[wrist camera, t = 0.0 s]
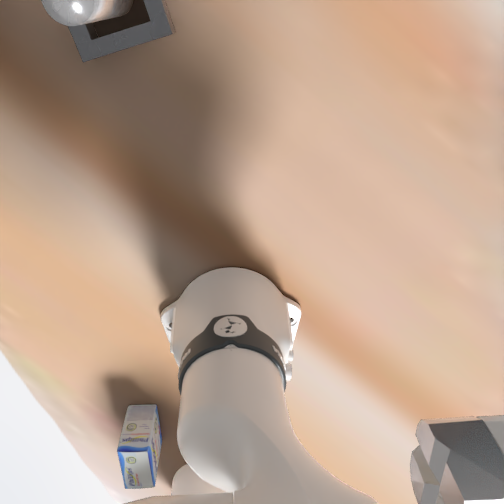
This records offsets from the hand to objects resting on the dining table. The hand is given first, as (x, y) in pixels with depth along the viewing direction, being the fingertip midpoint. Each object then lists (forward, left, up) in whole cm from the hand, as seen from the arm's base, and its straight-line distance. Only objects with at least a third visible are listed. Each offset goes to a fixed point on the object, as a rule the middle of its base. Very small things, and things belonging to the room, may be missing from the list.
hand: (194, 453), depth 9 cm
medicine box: (-51, +14, -48) cm, 71 cm away
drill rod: (+7, +10, -48) cm, 50 cm away
